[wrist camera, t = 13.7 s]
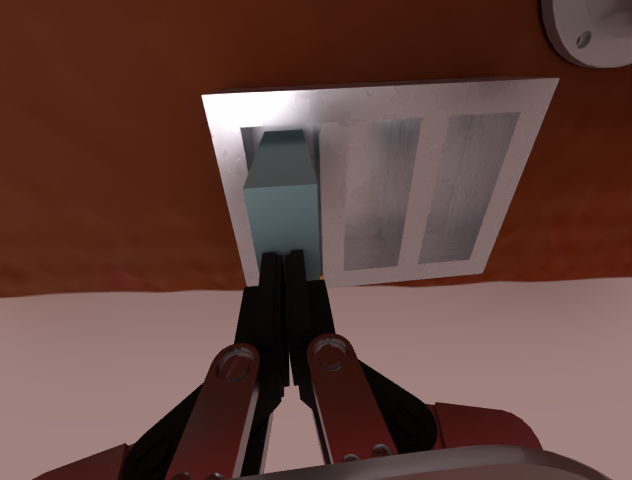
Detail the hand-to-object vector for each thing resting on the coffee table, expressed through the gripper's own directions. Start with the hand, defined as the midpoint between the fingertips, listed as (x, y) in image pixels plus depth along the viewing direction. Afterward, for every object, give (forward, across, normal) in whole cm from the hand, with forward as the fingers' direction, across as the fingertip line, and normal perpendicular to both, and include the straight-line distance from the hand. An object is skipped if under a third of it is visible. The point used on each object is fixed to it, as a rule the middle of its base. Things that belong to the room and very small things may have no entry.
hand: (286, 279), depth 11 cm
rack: (+11, -6, 0) cm, 12 cm away
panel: (+10, 0, 0) cm, 10 cm away
